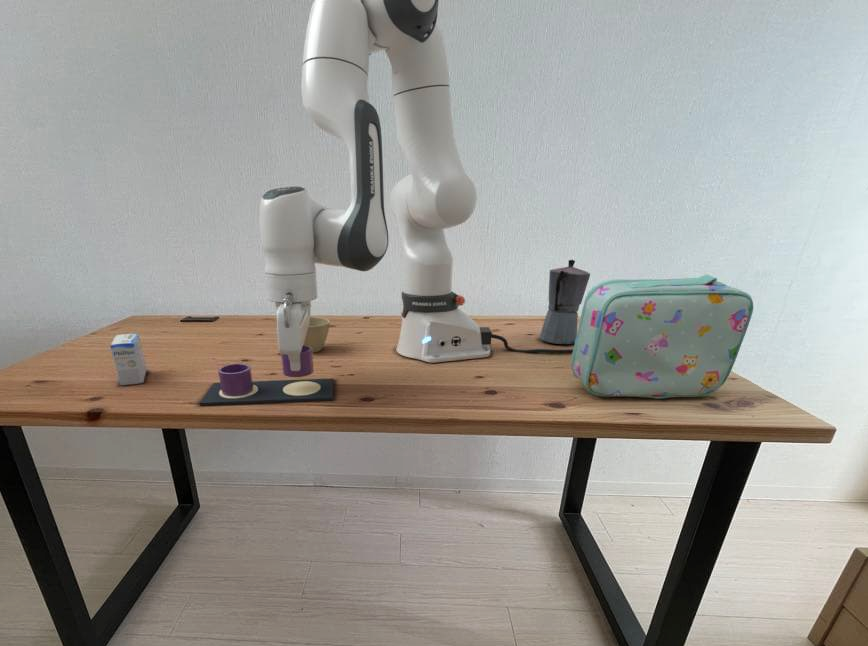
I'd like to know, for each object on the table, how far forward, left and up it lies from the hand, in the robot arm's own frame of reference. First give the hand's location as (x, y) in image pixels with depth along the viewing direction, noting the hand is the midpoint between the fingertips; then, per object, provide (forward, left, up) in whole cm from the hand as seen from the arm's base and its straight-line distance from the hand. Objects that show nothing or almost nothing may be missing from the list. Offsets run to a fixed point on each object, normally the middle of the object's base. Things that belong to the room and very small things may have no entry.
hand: (297, 363), depth 86 cm
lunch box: (-65, +7, -6) cm, 66 cm away
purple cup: (0, 0, -2) cm, 2 cm away
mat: (+6, 0, -6) cm, 8 cm away
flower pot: (0, -27, -6) cm, 28 cm away
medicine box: (+36, -11, -6) cm, 38 cm away
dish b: (+12, 0, -5) cm, 13 cm away
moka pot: (-63, -27, -6) cm, 69 cm away
